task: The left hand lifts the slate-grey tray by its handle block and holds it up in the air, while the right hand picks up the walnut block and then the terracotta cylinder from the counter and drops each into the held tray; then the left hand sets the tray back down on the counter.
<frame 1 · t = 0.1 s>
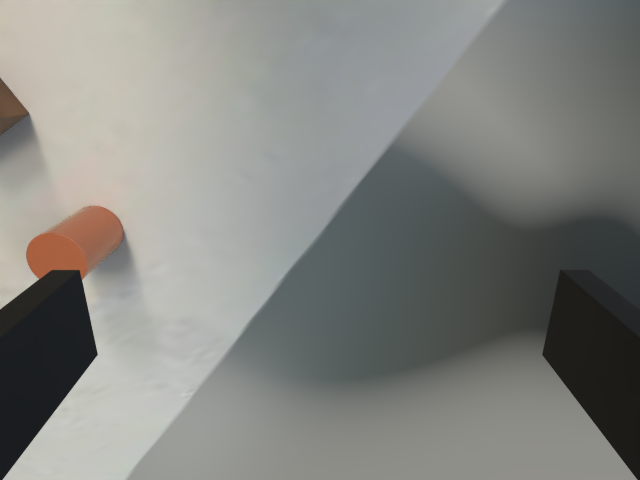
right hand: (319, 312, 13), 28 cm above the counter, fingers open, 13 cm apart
terracotta cylinder: (98, 229, 42), on the counter
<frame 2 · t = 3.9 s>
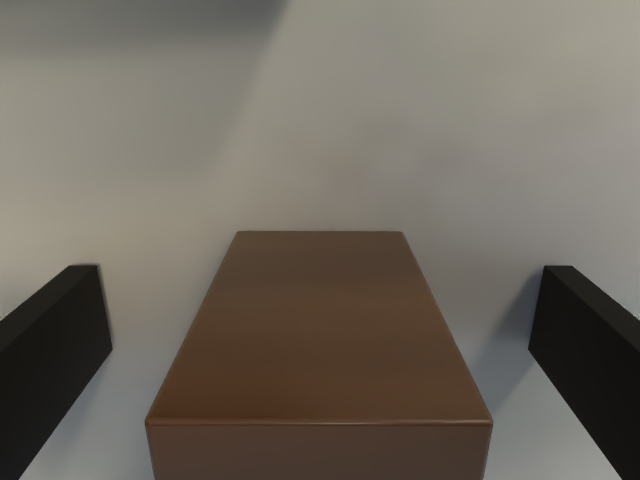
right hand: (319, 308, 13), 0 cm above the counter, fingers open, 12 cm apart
walnut block: (319, 303, 13), on the counter
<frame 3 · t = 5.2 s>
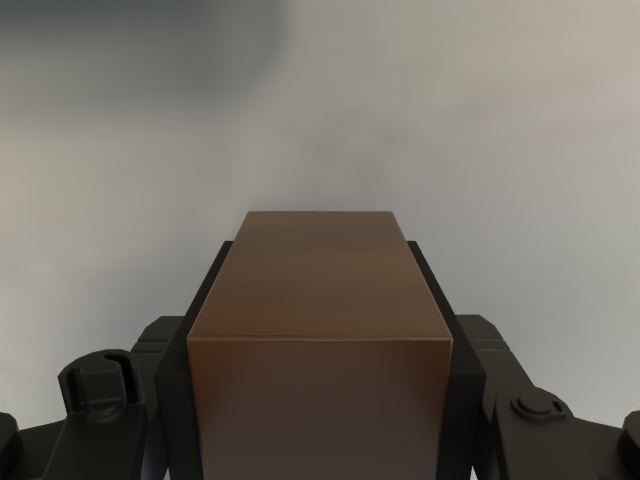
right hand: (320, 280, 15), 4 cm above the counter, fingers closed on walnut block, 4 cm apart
walnut block: (320, 276, 15), point 3 cm above the counter, touching right hand
when the right hand's fingers open (17 cm above the counter, at t = 8.3 s): walnut block drops 6 cm, resting on tray.
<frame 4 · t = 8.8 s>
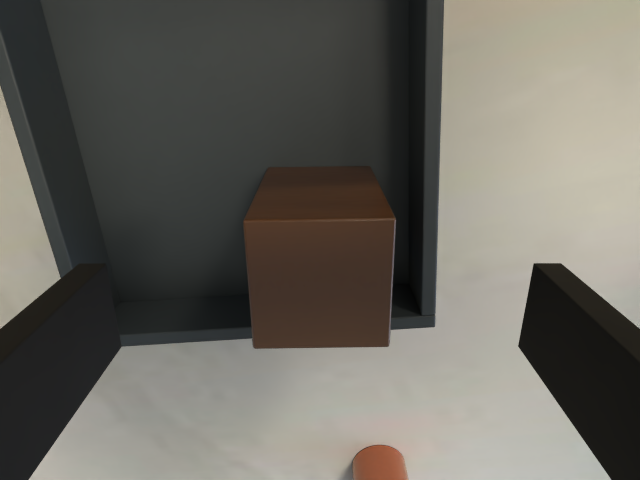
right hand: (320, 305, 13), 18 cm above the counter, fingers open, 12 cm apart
tray: (243, 122, 20), point 10 cm above the counter, touching left hand, walnut block
terracotta cylinder: (378, 465, 40), on the counter
walnut block: (319, 215, 21), point 10 cm above the counter, touching tray
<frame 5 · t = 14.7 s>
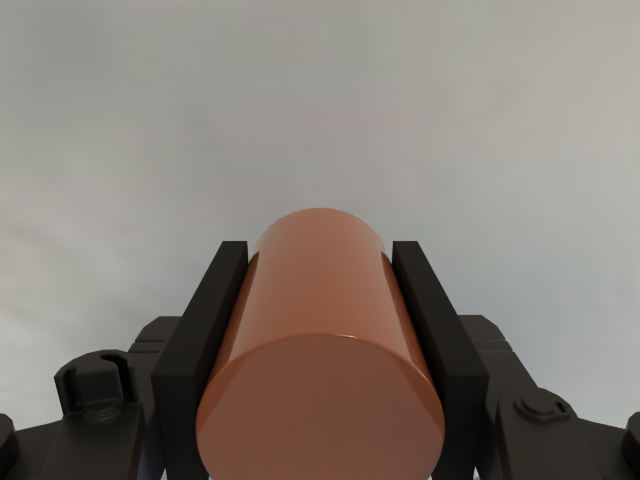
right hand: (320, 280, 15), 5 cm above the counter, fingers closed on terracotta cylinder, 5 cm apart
terracotta cylinder: (319, 274, 15), point 5 cm above the counter, touching right hand
when the right hand's fingers open (17 cm above the counter, at t = 18.7 s): terracotta cylinder drops 6 cm, resting on tray.
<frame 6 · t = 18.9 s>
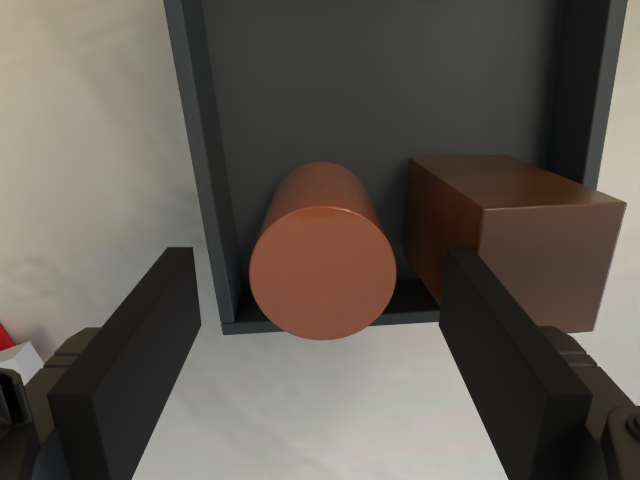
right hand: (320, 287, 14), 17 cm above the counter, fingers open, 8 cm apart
tray: (383, 109, 20), point 9 cm above the counter, touching left hand, terracotta cylinder, walnut block
terracotta cylinder: (320, 211, 21), point 10 cm above the counter, touching tray
walnut block: (453, 205, 20), point 10 cm above the counter, tilted 7°, touching right hand, tray
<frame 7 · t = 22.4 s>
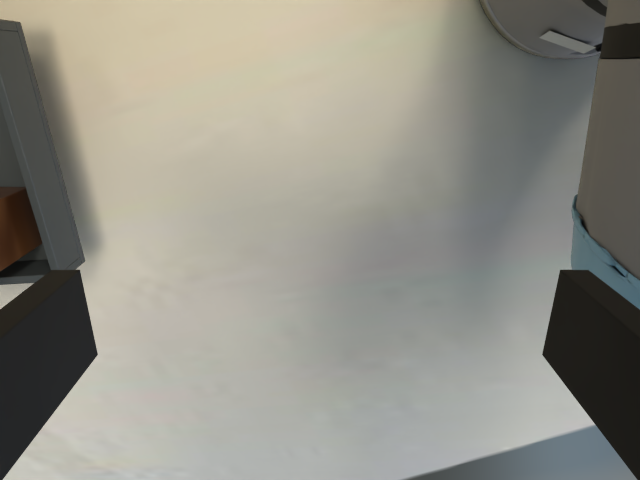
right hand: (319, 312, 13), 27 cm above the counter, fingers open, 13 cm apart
walnut block: (6, 215, 34), point 5 cm above the counter, touching tray
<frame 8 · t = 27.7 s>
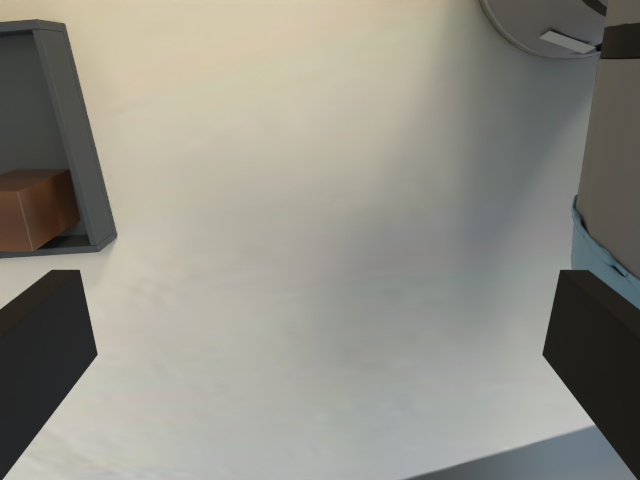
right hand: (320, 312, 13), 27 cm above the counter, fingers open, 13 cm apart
tray: (2, 145, 38), on the counter, touching terracotta cylinder, walnut block
walnut block: (48, 195, 38), point 1 cm above the counter, touching tray
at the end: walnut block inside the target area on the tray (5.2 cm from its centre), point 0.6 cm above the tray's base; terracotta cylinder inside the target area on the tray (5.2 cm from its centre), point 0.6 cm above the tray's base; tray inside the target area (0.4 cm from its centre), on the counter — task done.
